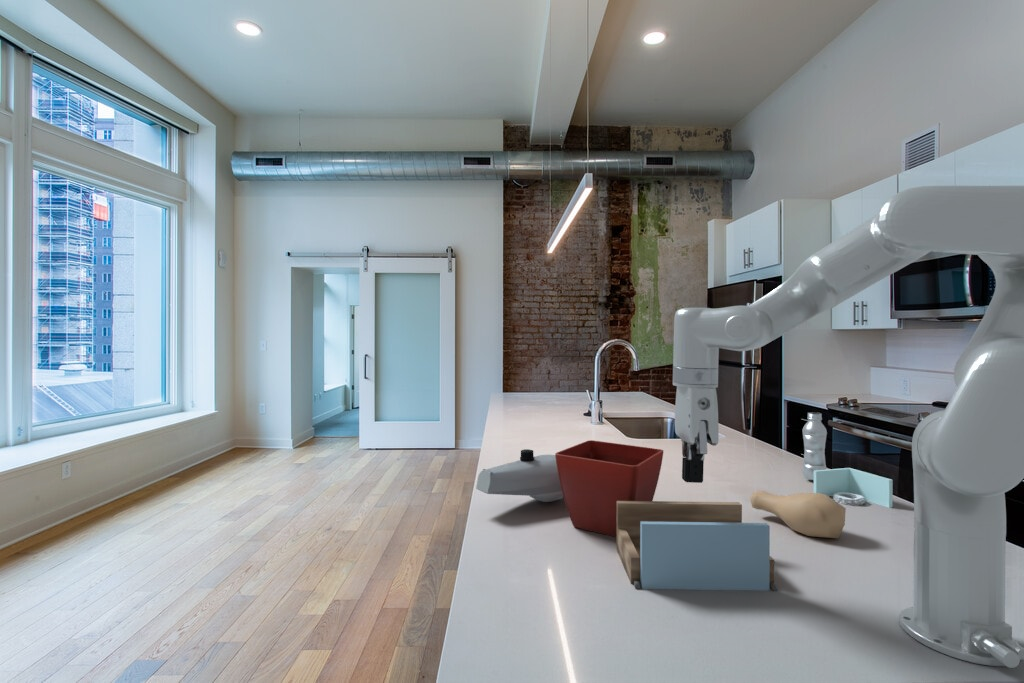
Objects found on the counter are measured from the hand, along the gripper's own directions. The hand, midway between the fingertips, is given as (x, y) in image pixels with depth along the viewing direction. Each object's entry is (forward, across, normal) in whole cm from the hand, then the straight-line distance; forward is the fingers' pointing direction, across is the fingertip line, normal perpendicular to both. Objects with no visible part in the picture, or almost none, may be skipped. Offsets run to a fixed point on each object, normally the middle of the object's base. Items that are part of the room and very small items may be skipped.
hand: (692, 480), depth 89 cm
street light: (+18, +38, +28) cm, 51 cm away
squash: (+17, +24, -31) cm, 42 cm away
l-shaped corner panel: (+17, +43, -55) cm, 72 cm away
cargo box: (+17, +3, -1) cm, 17 cm away
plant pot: (+18, +24, +10) cm, 32 cm away
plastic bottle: (+17, +63, -57) cm, 87 cm away
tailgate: (+17, -6, -1) cm, 18 cm away
